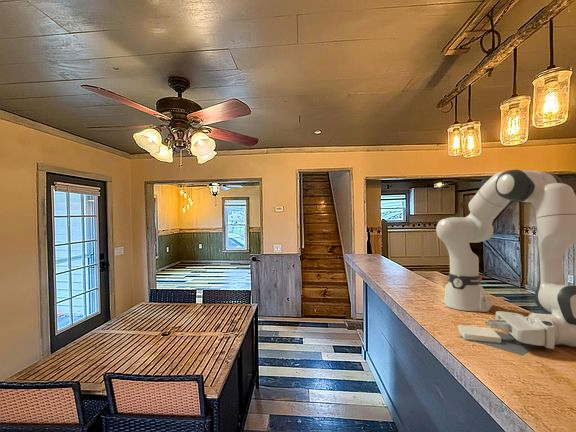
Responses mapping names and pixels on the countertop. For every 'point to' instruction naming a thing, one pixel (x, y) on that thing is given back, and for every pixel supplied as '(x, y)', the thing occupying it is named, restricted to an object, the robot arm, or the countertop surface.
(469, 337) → the tile
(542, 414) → the countertop surface
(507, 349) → the mat
